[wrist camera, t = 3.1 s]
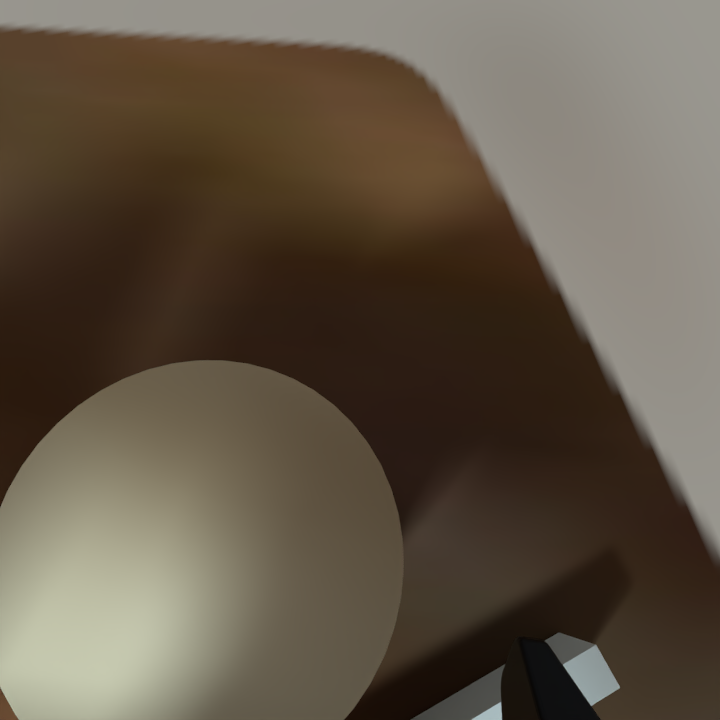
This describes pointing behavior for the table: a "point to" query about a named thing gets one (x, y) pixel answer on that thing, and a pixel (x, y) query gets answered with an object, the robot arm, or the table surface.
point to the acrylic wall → (483, 697)
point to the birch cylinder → (198, 554)
